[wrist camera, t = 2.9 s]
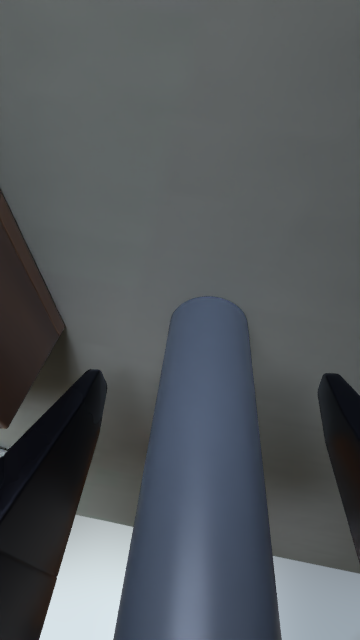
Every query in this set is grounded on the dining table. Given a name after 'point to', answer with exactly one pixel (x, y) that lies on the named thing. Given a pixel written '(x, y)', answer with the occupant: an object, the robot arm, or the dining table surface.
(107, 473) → the dining table surface
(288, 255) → the dining table surface
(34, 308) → the rack
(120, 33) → the dining table surface
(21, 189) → the dining table surface
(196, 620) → the smoky grey vial
